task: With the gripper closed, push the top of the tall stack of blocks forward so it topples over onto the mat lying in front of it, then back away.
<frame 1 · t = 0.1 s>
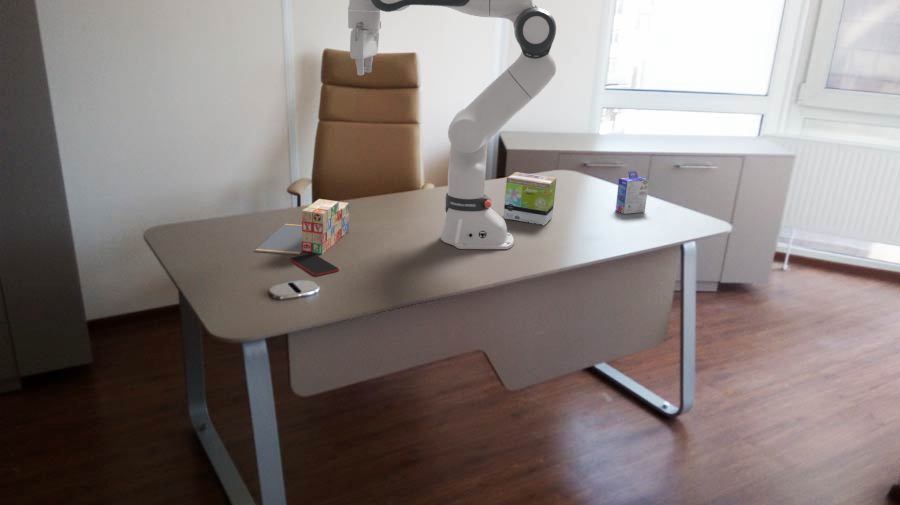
hand: (364, 73, 185), 48 cm above the table, fingers open, 8 cm apart
tea box: (528, 219, 222), on the table
smartphone: (314, 267, 175), on the table
ink cartridge box: (629, 211, 236), on the table
stack of blocks: (326, 241, 193), on the table, touching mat
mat: (291, 238, 193), on the table
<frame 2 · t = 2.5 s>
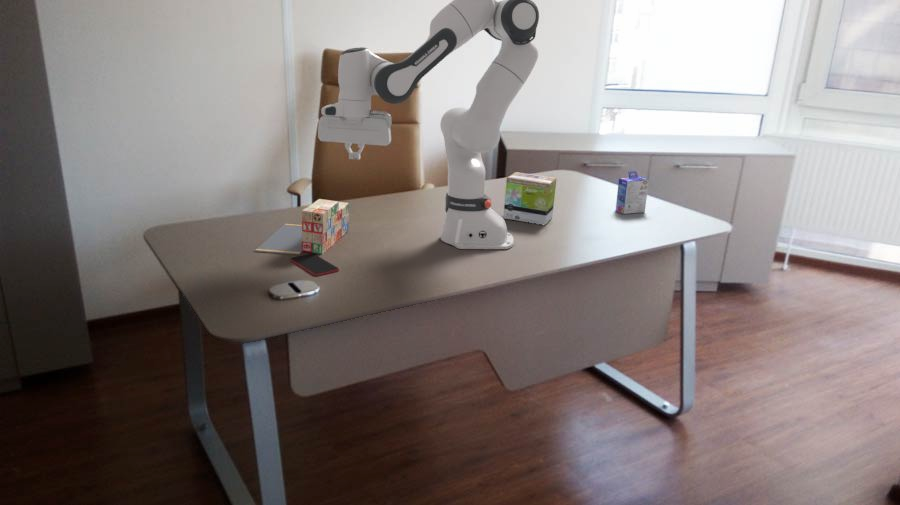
hand: (354, 159, 183), 25 cm above the table, fingers closed
nothing on the table moved.
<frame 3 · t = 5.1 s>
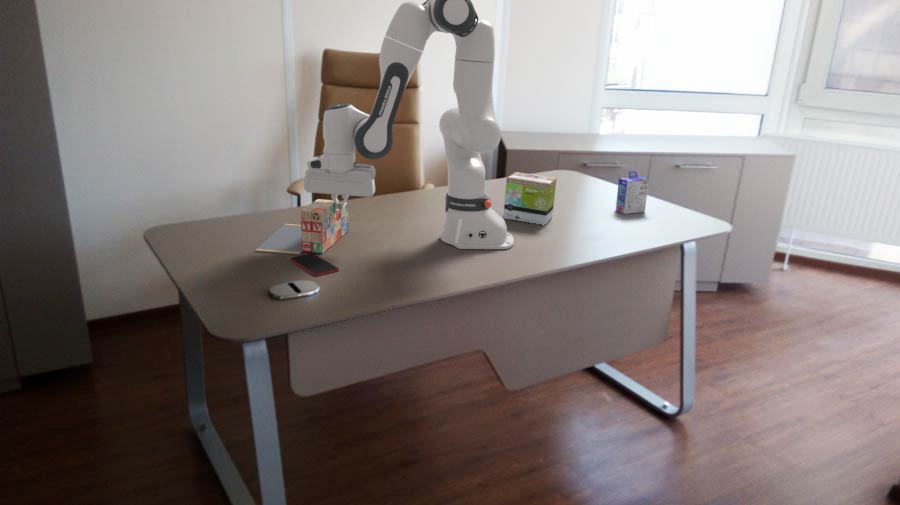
hand: (340, 208, 189), 10 cm above the table, fingers closed
stack of blocks: (326, 241, 193), on the table, touching gripper, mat
everything else where it was.
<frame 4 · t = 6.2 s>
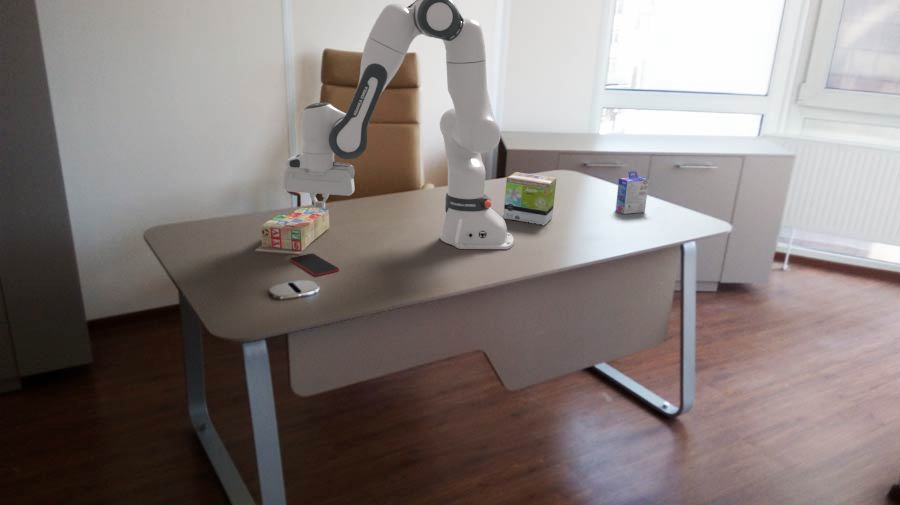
hand: (319, 207, 189), 10 cm above the table, fingers closed
stack of blocks: (316, 229, 192), point 4 cm above the table, touching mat
everything else where it was.
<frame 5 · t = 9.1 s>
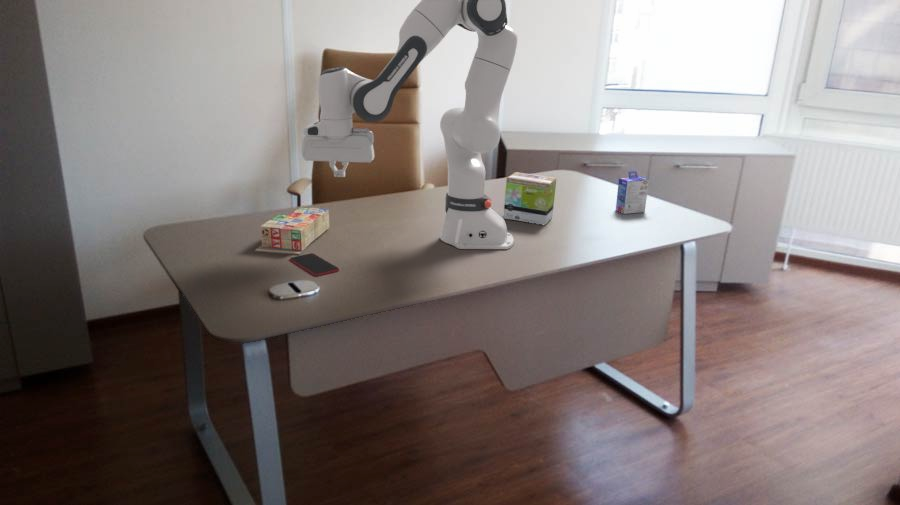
hand: (339, 176, 185), 20 cm above the table, fingers closed
nothing on the table moved.
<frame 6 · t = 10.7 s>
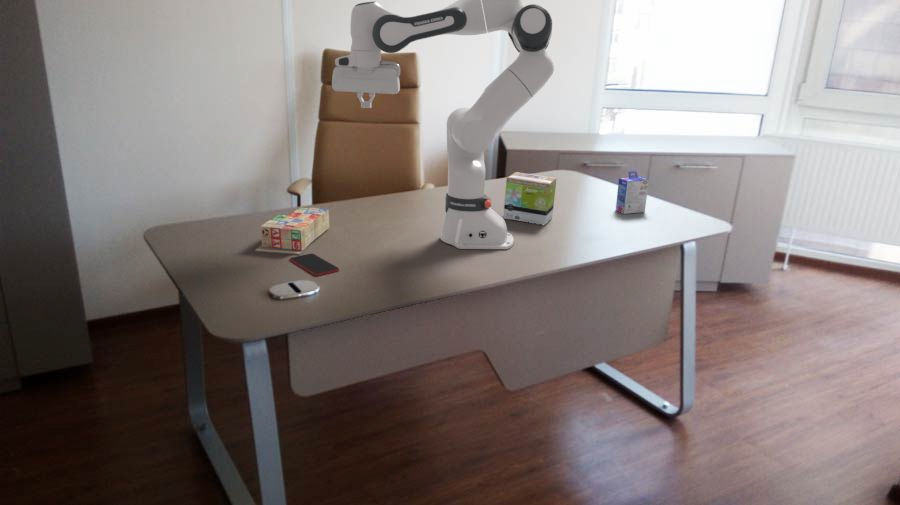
hand: (366, 107, 197), 37 cm above the table, fingers closed
nothing on the table moved.
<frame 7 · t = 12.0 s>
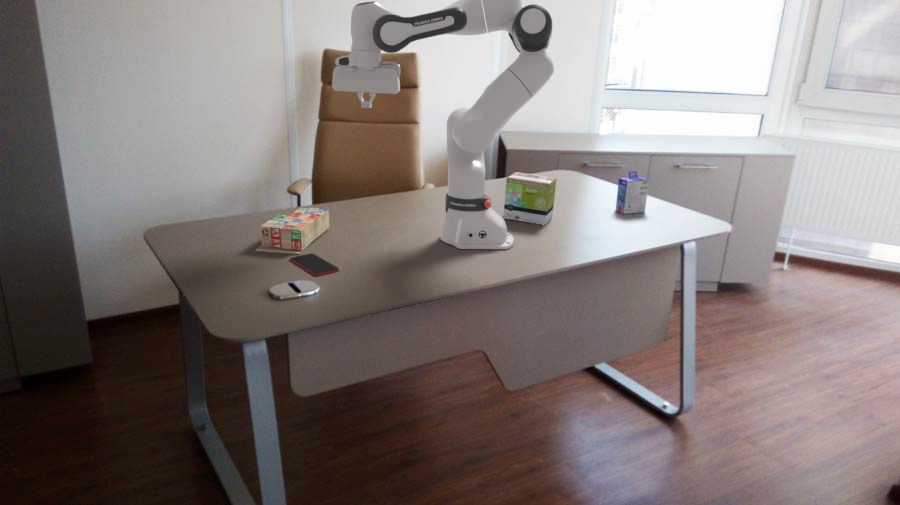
hand: (366, 107, 197), 37 cm above the table, fingers closed
nothing on the table moved.
at the end: stack of blocks tilted 90°; stack of blocks inside the target area (6.2 cm from its centre), point 3.5 cm above the table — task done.
